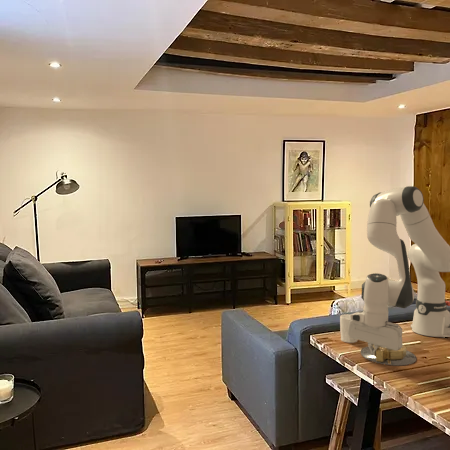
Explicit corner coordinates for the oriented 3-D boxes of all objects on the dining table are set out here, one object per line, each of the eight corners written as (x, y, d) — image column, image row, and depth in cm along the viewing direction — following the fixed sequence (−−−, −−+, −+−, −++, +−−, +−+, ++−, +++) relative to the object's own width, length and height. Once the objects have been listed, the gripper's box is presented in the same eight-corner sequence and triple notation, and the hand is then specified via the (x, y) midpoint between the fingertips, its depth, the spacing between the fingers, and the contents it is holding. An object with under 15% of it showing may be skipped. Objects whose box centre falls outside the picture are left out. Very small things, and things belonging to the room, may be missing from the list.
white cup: (359, 344, 189) (360, 320, 188) (339, 342, 190) (340, 318, 189) (358, 337, 196) (358, 314, 195) (338, 336, 198) (339, 313, 197)
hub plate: (384, 343, 190) (385, 330, 189) (428, 359, 173) (428, 345, 172) (349, 352, 179) (349, 338, 179) (391, 369, 162) (392, 354, 162)
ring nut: (377, 345, 184) (378, 335, 184) (408, 352, 177) (409, 342, 177) (363, 357, 172) (363, 347, 171) (396, 365, 164) (396, 354, 164)
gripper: (406, 323, 164) (404, 361, 166) (355, 311, 179) (354, 345, 180) (398, 327, 160) (396, 365, 161) (346, 314, 175) (345, 349, 176)
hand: (373, 355), depth 171 cm, fingers closed
